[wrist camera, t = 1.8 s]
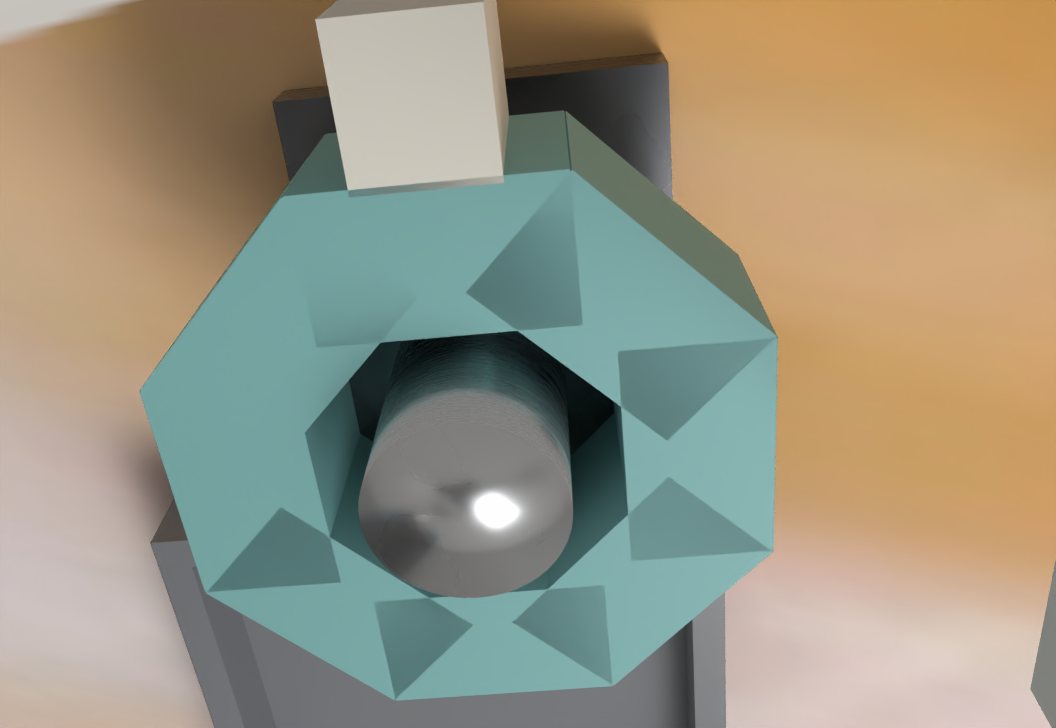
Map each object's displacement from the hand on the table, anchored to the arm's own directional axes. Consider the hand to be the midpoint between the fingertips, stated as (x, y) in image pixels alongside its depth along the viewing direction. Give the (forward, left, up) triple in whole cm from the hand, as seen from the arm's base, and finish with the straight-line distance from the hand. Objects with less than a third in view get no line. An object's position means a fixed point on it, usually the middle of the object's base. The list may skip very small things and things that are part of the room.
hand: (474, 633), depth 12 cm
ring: (0, +1, -7) cm, 7 cm away
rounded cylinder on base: (0, 0, -13) cm, 13 cm away
